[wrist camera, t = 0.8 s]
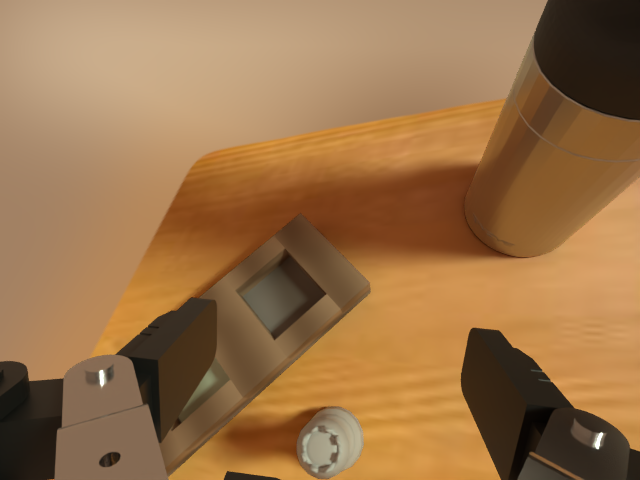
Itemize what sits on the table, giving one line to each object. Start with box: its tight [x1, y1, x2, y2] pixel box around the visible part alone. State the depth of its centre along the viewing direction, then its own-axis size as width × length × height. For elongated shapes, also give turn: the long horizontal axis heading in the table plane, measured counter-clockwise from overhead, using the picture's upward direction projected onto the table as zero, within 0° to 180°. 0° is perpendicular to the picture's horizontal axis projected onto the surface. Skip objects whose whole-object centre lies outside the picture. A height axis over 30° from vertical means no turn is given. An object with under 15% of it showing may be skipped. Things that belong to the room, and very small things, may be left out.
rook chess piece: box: [297, 407, 364, 479], centre depth 25 cm, size 4×4×8 cm
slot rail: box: [159, 213, 370, 477], centre depth 32 cm, size 22×9×3 cm, turn 131°
